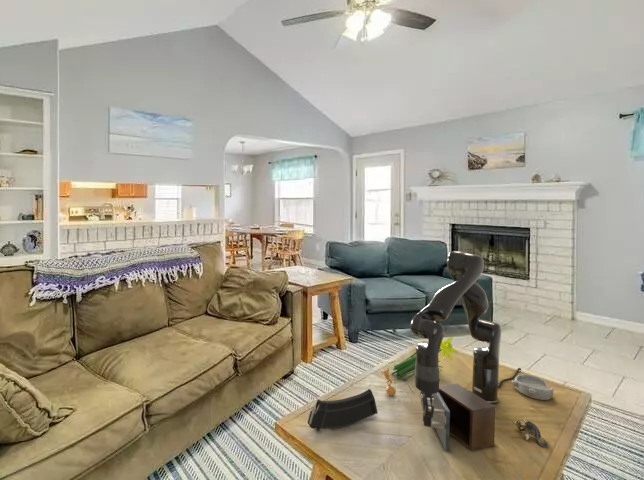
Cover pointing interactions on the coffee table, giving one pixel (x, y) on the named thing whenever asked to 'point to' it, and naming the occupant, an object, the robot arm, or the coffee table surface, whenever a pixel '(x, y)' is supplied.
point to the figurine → (389, 389)
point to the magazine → (342, 411)
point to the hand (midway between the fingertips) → (426, 424)
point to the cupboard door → (441, 420)
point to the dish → (532, 387)
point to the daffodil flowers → (410, 362)
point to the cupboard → (469, 416)
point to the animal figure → (531, 431)
